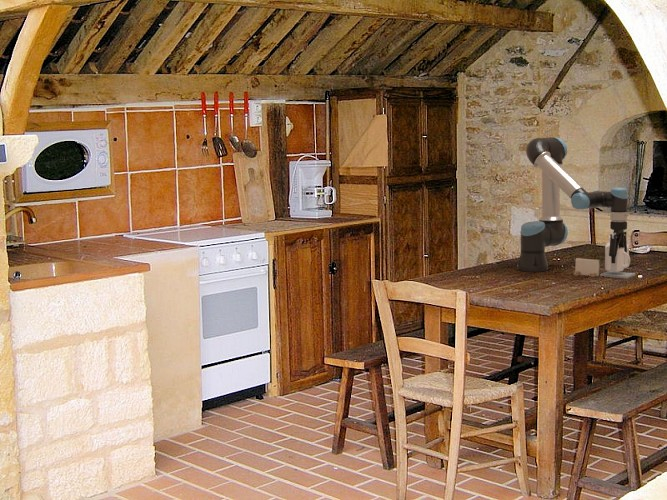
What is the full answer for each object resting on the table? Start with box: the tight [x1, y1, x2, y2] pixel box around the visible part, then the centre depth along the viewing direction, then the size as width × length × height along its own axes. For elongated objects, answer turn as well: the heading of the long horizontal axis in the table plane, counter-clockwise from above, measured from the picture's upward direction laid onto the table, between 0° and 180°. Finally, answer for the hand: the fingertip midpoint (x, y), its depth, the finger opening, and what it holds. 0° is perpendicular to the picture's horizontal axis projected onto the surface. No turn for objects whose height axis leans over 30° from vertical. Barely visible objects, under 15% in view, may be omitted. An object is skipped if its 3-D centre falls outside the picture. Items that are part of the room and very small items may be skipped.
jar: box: [604, 236, 630, 269], centre depth 471 cm, size 12×10×15 cm
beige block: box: [573, 257, 600, 278], centre depth 446 cm, size 11×5×8 cm, turn 51°
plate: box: [599, 271, 637, 280], centre depth 444 cm, size 13×11×1 cm
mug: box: [604, 247, 631, 272], centre depth 443 cm, size 9×12×11 cm
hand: (617, 268), depth 443 cm, fingers closed on mug, 9 cm apart
